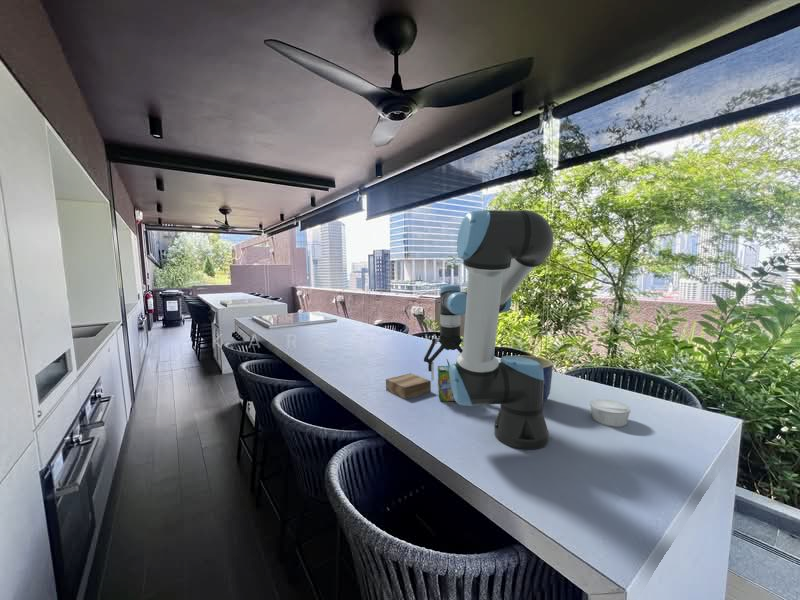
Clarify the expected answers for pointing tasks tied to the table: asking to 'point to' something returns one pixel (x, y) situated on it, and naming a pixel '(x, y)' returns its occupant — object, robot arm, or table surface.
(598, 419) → the ramekin
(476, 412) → the table surface
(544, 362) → the planter
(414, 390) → the walnut base block
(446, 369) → the chalk box
